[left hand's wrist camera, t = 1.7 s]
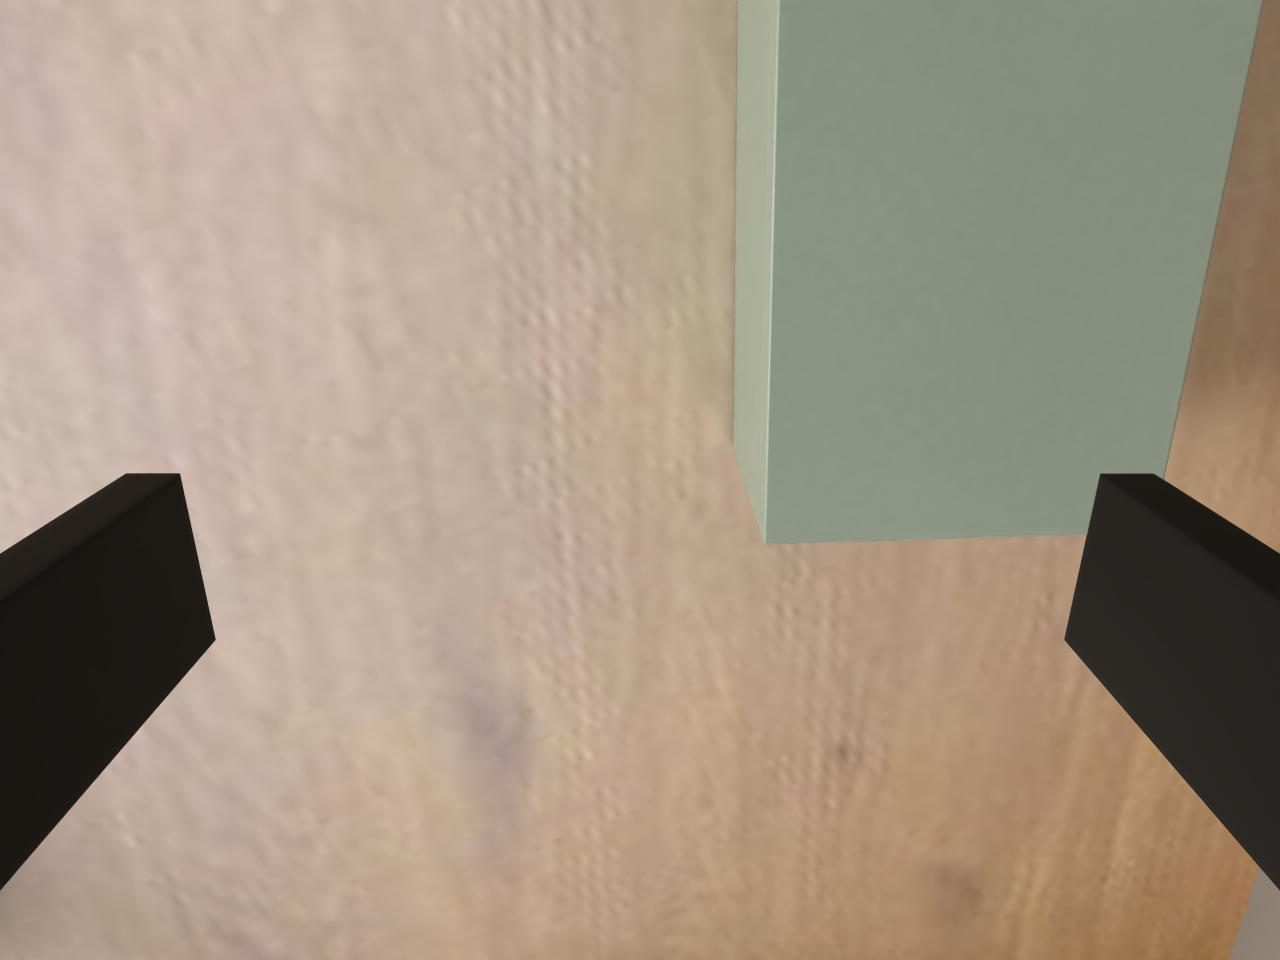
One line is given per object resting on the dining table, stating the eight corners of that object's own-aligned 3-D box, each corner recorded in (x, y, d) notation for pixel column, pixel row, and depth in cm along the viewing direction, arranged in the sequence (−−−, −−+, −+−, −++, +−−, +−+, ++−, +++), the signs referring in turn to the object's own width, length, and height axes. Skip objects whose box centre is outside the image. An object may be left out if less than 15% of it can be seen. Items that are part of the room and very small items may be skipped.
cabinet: (739, -175, 26) (785, -324, 18) (1118, -189, 25) (1336, -344, 17) (732, 450, 33) (763, 545, 25) (1028, 441, 33) (1154, 533, 25)
